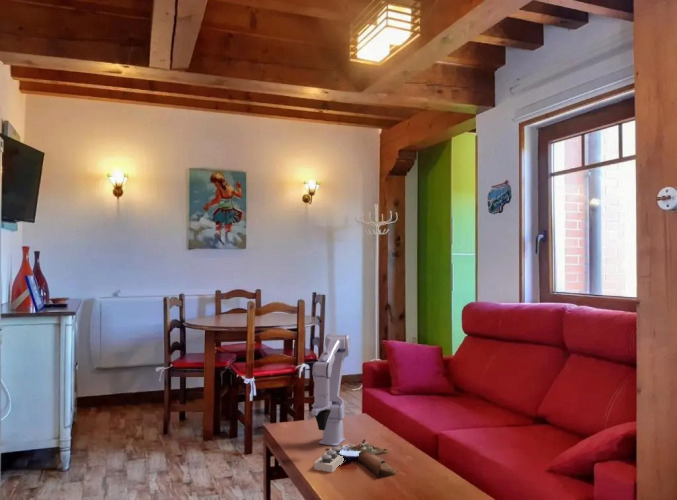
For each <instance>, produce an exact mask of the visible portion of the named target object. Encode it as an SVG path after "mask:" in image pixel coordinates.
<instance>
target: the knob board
mask: <svg viewBox="0 0 677 500" xmlns="http://www.w3.org/2000/svg"><path fill="white" fill-rule="evenodd" d="M329 450H332V449H331V448H330V449H329ZM325 454H327V451H326V452H325V453H323V455H325ZM343 461H344V458H343V456H340V455H336V458H335V459H331V462H330V463H323V462H322V455H321V456H320V457H319V458H318V459H316V460H315V461H314V462H313V470H315V471H321V470H322V472H326V473H327V472H328V473H334V471H336V468H337V467H338V466H339V465H340V466H341V465H342V464H343V463H344V462H345V461H344V462H343ZM340 466H339V467H340ZM339 467H338V468H339ZM338 468H337V469H338Z"/></svg>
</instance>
